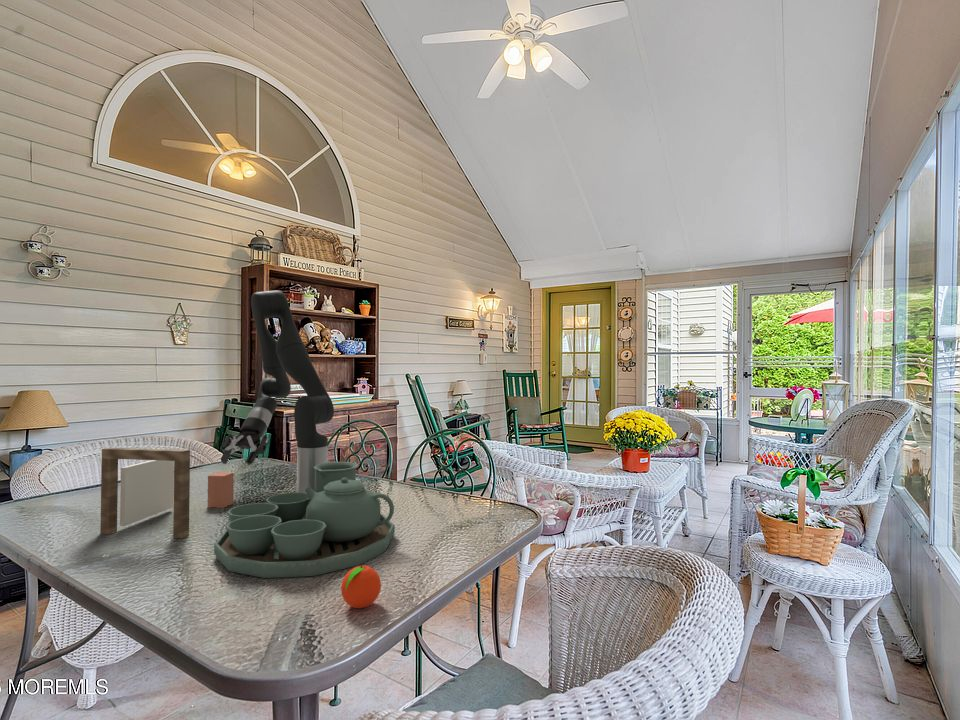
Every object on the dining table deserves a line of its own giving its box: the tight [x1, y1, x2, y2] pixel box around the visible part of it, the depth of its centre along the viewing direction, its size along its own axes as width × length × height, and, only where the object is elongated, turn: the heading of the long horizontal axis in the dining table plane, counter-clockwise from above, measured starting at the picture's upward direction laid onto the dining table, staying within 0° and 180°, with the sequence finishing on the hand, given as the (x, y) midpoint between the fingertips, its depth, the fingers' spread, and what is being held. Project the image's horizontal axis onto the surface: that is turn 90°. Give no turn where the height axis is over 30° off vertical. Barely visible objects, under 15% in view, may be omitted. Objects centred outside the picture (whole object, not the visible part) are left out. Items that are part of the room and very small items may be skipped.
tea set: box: [213, 461, 396, 579], centre depth 119 cm, size 40×40×16 cm
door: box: [119, 460, 174, 527], centre depth 137 cm, size 17×2×15 cm, turn 173°
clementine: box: [340, 564, 382, 609], centre depth 88 cm, size 8×7×7 cm
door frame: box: [99, 446, 191, 539], centre depth 125 cm, size 22×2×21 cm, turn 83°
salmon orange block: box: [207, 471, 235, 509], centre depth 152 cm, size 5×5×10 cm
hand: (235, 463), depth 159 cm, fingers open, 8 cm apart
